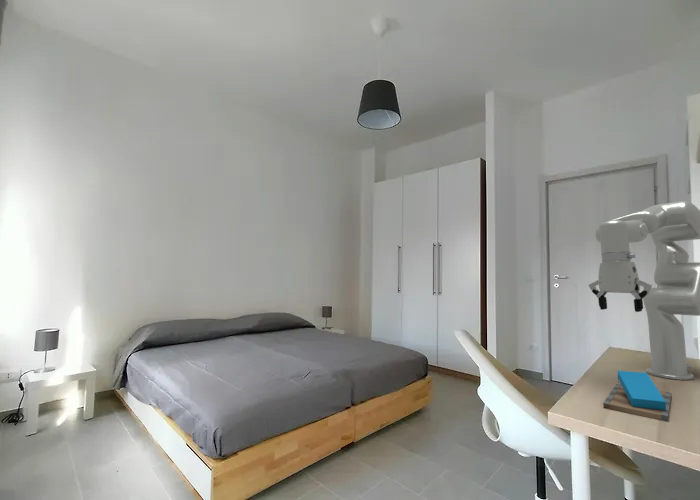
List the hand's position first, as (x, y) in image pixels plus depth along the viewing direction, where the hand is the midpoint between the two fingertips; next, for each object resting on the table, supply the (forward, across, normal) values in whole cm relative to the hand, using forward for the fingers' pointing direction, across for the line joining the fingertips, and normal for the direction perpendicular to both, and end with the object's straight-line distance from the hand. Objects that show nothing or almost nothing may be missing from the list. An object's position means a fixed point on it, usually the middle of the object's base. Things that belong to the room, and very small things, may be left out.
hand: (620, 310), depth 113 cm
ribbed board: (+24, -8, +13) cm, 29 cm away
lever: (+23, -8, +14) cm, 28 cm away
